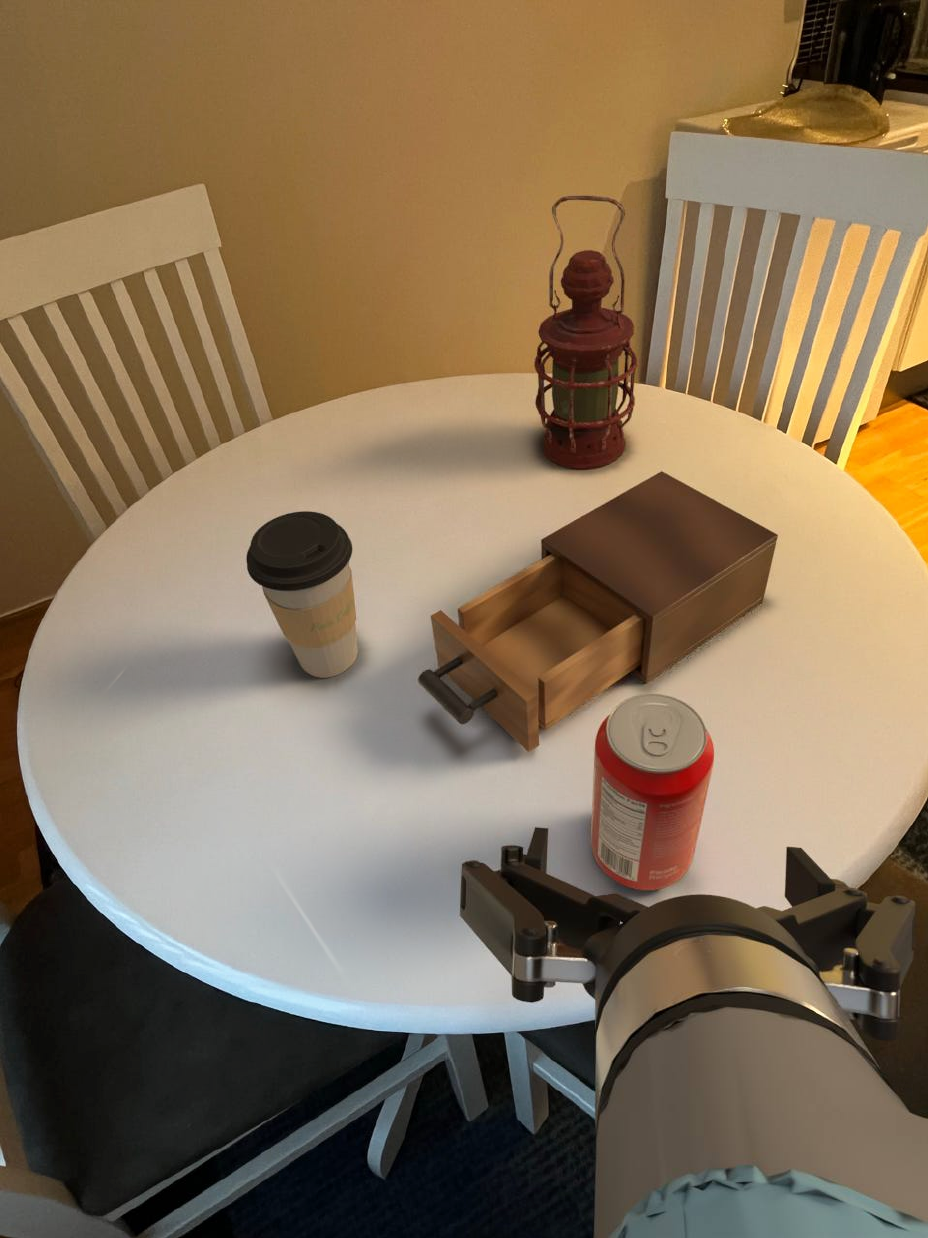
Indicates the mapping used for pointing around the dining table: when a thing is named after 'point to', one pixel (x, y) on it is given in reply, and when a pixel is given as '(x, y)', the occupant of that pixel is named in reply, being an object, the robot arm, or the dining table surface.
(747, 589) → the cabinet
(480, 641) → the drawer
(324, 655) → the coffee cup
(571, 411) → the lantern
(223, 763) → the dining table surface
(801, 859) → the robot arm
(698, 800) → the soda can
